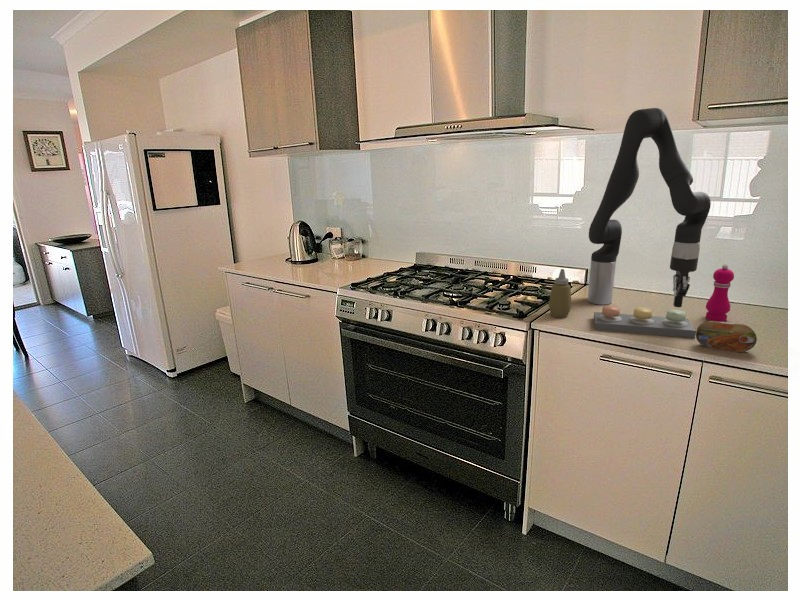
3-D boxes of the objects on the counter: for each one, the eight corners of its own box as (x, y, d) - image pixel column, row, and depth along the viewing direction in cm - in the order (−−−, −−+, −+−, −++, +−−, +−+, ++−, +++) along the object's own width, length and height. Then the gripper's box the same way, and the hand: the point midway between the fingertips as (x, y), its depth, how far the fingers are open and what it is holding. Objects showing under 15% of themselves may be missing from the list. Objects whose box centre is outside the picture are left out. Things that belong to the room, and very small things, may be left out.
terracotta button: (601, 311, 165) (602, 304, 164) (618, 312, 163) (619, 306, 162) (602, 316, 160) (602, 309, 159) (620, 317, 158) (620, 310, 157)
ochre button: (632, 313, 161) (633, 306, 161) (650, 314, 160) (651, 308, 159) (634, 318, 156) (635, 311, 156) (652, 319, 155) (653, 313, 154)
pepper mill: (732, 322, 161) (742, 266, 155) (709, 321, 162) (718, 266, 156) (722, 315, 167) (732, 262, 162) (700, 315, 169) (709, 261, 163)
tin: (693, 346, 143) (698, 320, 140) (693, 342, 146) (697, 317, 143) (753, 354, 136) (759, 328, 133) (752, 350, 138) (758, 324, 136)
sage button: (664, 315, 158) (665, 309, 157) (683, 317, 156) (684, 310, 155) (667, 321, 153) (668, 314, 152) (686, 322, 151) (687, 315, 150)
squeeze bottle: (544, 316, 174) (547, 269, 168) (554, 310, 179) (557, 265, 174) (564, 320, 168) (568, 273, 163) (574, 315, 174) (578, 268, 168)
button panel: (593, 318, 170) (594, 311, 169) (686, 325, 159) (687, 318, 159) (594, 329, 159) (595, 322, 158) (694, 337, 149) (696, 330, 148)
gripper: (667, 251, 155) (661, 300, 160) (675, 259, 144) (668, 311, 149) (693, 252, 153) (685, 301, 158) (703, 260, 141) (694, 313, 146)
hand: (677, 306), depth 153 cm, fingers closed
